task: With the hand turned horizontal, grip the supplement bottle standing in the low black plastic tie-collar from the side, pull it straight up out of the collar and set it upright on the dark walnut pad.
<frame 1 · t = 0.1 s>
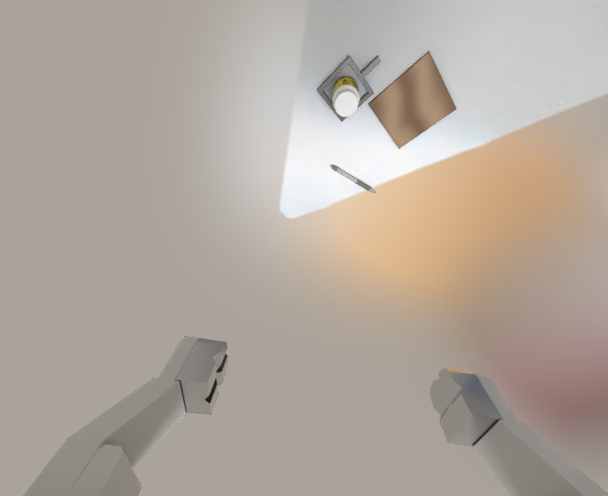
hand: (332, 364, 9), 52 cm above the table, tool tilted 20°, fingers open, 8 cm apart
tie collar: (345, 90, 47), on the table
pen: (353, 177, 62), on the table
pad: (411, 105, 48), on the table
supplement bottle: (345, 89, 47), resting in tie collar
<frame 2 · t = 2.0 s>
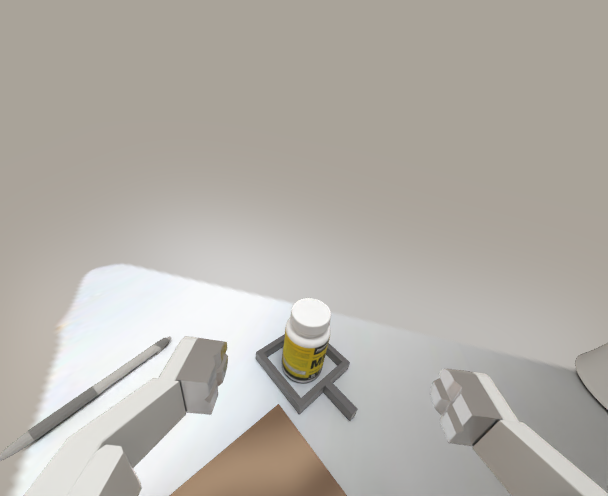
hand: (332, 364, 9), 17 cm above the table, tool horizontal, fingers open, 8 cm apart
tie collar: (302, 363, 28), on the table
pen: (106, 392, 24), on the table
supplement bottle: (301, 365, 28), resting in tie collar
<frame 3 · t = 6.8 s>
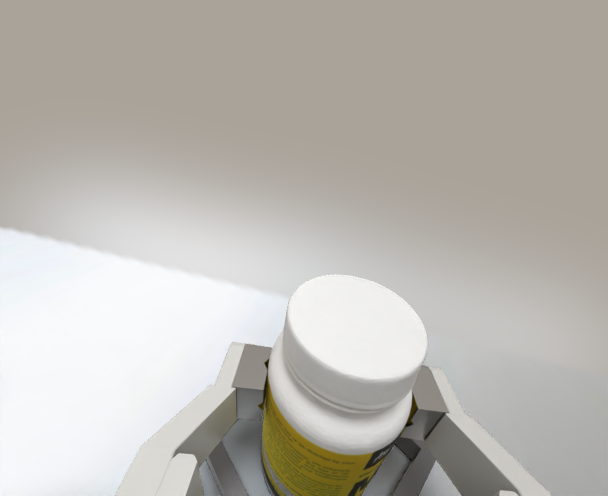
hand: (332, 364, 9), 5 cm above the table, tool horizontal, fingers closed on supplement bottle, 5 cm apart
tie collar: (313, 449, 11), on the table
supplement bottle: (312, 451, 11), resting in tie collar, touching gripper
when the fingers open (7 cm above the table, at t = 12.3 s): supplement bottle drops 1 cm, resting on pad.
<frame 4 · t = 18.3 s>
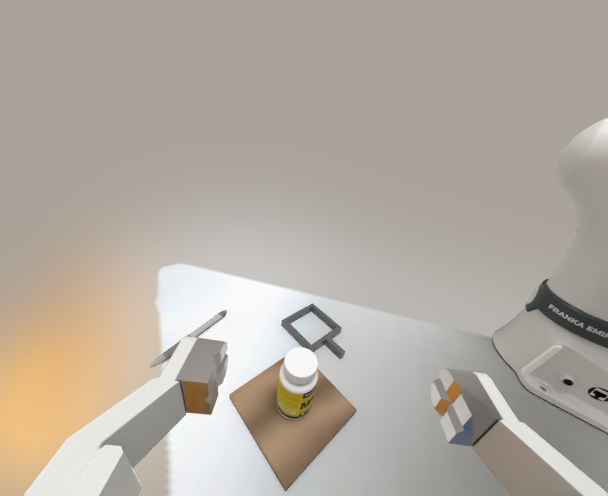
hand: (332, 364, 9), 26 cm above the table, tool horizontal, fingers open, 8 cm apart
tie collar: (311, 328, 44), on the table
pen: (194, 339, 40), on the table
pad: (292, 404, 33), on the table
supplement bottle: (293, 402, 32), resting on pad
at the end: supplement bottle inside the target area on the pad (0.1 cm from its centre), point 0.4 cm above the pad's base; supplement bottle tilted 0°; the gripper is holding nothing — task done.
